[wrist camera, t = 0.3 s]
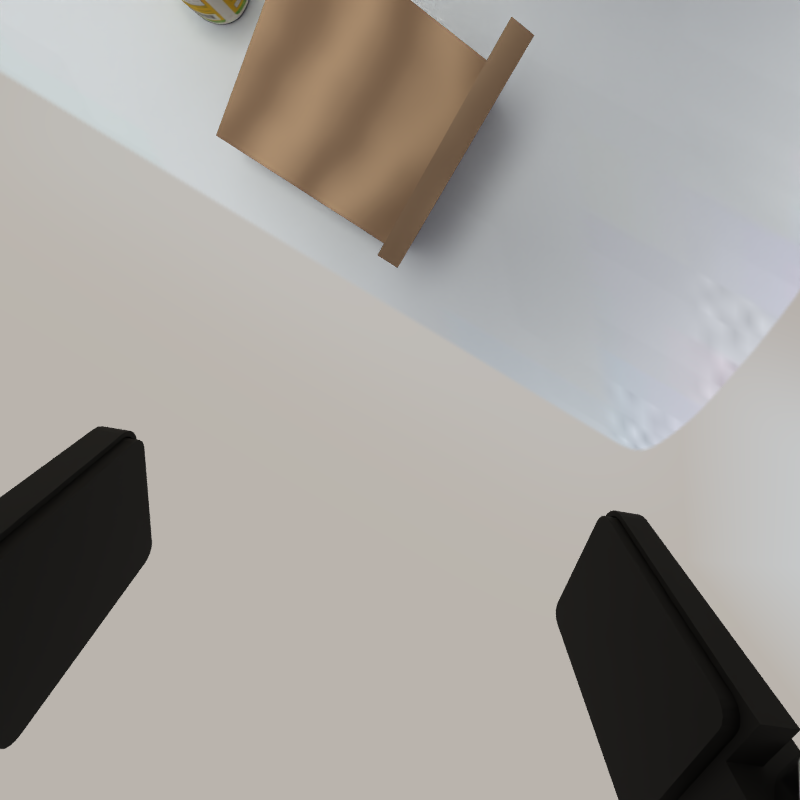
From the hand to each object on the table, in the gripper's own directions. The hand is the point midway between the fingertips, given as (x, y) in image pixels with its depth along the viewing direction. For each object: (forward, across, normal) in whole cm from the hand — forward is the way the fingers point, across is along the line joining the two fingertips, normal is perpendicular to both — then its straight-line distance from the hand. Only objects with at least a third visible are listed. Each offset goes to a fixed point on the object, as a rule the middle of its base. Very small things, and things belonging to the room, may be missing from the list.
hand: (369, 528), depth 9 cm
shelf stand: (+36, +5, -12) cm, 38 cm away
